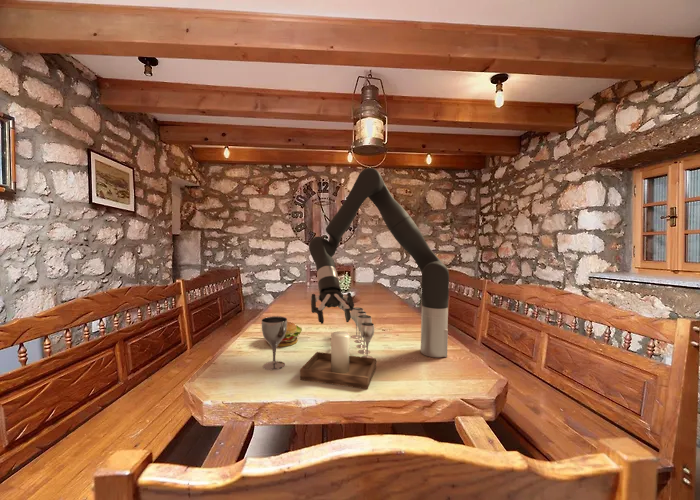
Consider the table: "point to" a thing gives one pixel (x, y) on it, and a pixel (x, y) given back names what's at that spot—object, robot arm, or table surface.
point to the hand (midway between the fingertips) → (335, 321)
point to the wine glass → (274, 337)
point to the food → (290, 335)
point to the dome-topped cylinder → (340, 352)
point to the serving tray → (355, 377)
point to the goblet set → (362, 329)
